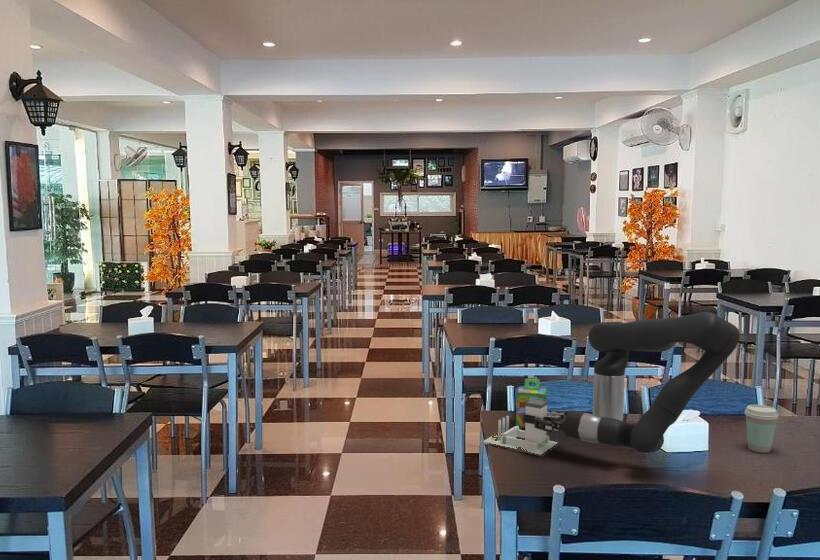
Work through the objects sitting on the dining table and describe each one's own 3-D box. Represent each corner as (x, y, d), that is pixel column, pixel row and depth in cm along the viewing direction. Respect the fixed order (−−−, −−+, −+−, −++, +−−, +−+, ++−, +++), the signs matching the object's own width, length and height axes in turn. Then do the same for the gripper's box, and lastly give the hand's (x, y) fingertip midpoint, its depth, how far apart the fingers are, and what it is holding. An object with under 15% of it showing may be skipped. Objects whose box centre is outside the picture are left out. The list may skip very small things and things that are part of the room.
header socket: (540, 457, 183) (541, 433, 183) (482, 443, 194) (483, 421, 193) (557, 445, 193) (558, 422, 192) (502, 432, 203) (502, 411, 203)
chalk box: (515, 428, 207) (516, 382, 206) (517, 420, 216) (518, 375, 215) (545, 431, 205) (546, 384, 204) (546, 422, 214) (547, 376, 213)
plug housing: (531, 436, 194) (532, 399, 192) (546, 439, 191) (547, 401, 190) (525, 440, 190) (525, 402, 189) (539, 443, 187) (540, 405, 186)
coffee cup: (779, 449, 191) (782, 408, 190) (771, 456, 185) (773, 414, 184) (747, 442, 197) (750, 402, 196) (738, 449, 191) (740, 408, 190)
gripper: (594, 407, 187) (537, 397, 197) (575, 419, 175) (516, 408, 185) (593, 433, 188) (537, 422, 198) (574, 447, 176) (515, 435, 186)
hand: (527, 415), depth 191 cm, fingers closed on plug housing, 4 cm apart
